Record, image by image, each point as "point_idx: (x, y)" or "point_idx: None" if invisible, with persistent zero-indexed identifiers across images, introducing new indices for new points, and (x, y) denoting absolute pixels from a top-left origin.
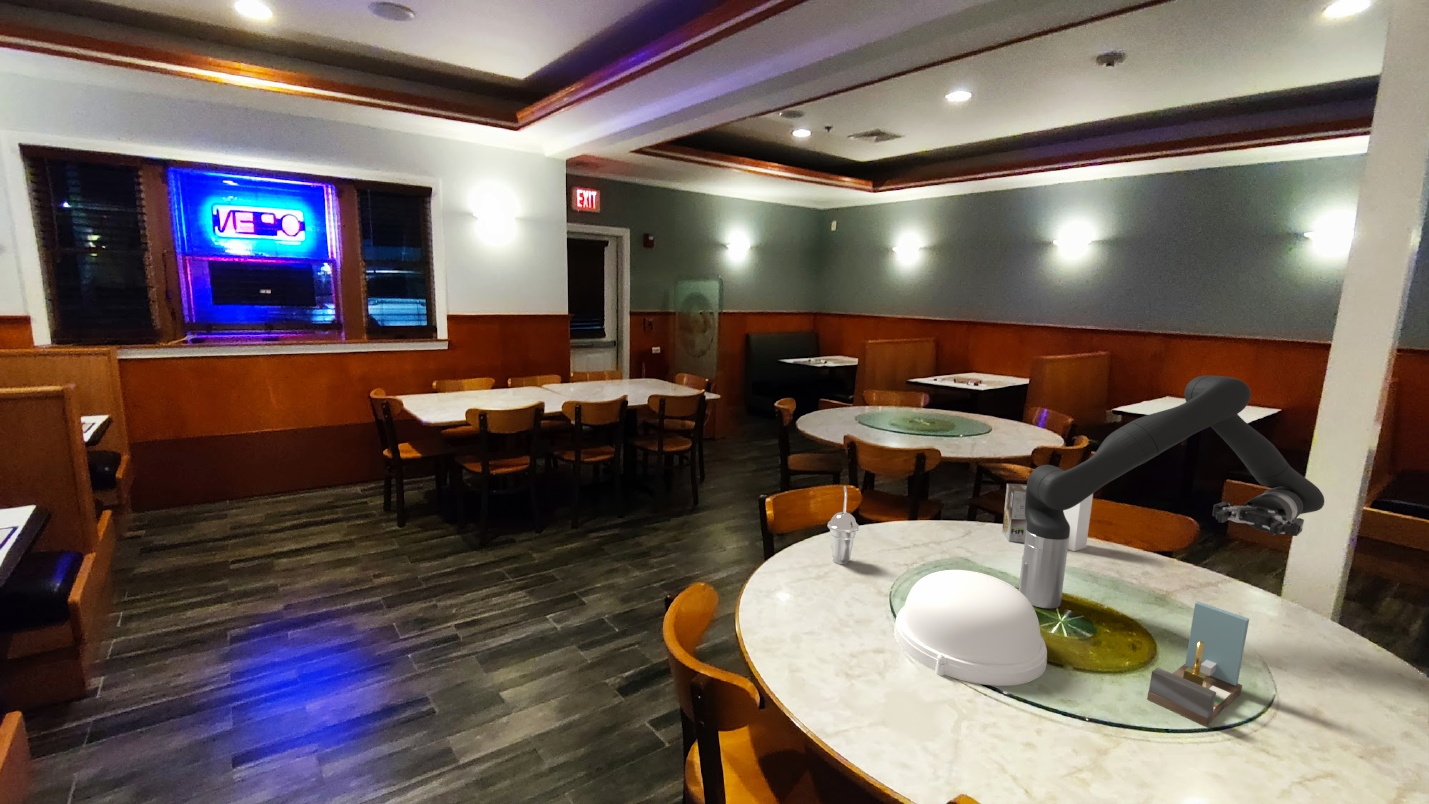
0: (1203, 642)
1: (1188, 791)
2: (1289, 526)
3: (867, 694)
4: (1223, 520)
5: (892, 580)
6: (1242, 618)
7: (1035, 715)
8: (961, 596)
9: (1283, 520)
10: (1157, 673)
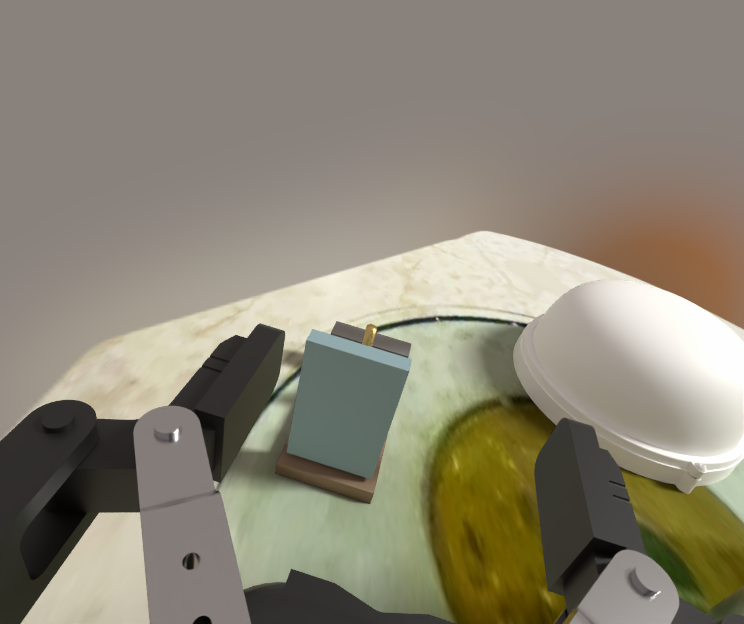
0: (368, 328)
1: (338, 273)
2: (121, 423)
3: (575, 283)
4: (543, 481)
5: None
6: (319, 334)
7: (473, 306)
8: (641, 284)
9: (145, 466)
10: (404, 342)
